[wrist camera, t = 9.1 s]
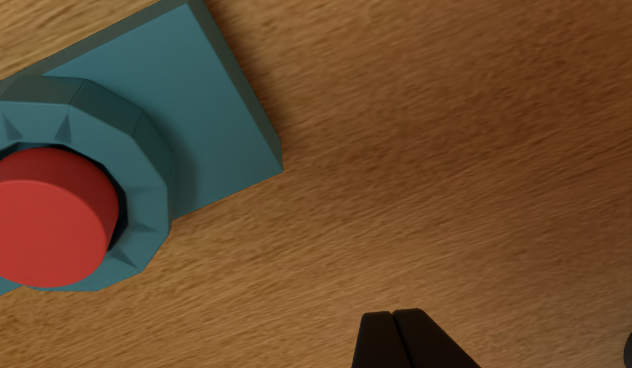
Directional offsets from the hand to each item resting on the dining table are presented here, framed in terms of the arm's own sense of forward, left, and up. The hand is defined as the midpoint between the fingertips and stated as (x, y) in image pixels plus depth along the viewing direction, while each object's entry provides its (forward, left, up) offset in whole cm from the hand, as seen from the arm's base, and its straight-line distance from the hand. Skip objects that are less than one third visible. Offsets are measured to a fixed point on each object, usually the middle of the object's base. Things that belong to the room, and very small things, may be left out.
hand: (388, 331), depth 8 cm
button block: (+8, -3, -12) cm, 15 cm away
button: (+8, -3, -9) cm, 12 cm away
